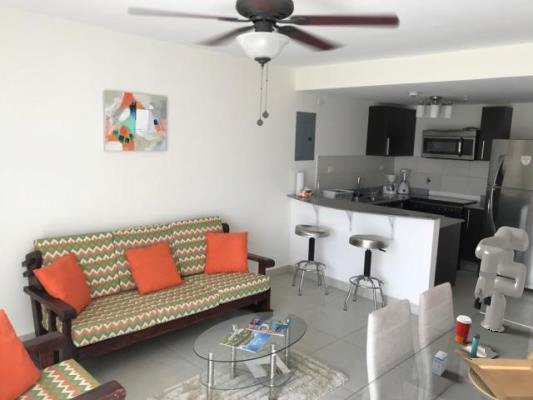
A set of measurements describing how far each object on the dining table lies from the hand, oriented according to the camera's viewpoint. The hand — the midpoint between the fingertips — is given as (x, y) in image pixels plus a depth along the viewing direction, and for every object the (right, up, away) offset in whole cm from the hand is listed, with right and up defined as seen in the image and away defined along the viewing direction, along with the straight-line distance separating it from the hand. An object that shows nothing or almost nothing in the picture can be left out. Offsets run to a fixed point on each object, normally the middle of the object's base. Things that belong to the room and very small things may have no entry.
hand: (482, 306), depth 219 cm
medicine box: (-26, -29, -9) cm, 40 cm away
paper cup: (-1, -25, +22) cm, 33 cm away
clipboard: (+2, -27, +10) cm, 29 cm away
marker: (-2, -27, +5) cm, 27 cm away
